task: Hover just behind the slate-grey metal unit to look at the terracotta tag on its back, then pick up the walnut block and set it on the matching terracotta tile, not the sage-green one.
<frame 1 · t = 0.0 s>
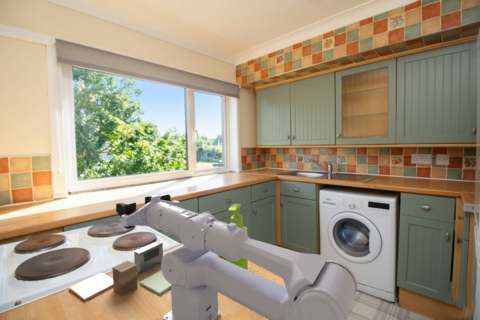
hand: (132, 203, 60), 22 cm above the countertop, tool horizontal, fingers open, 7 cm apart
sage tile: (162, 281, 64), on the countertop
soap dispenser: (236, 276, 66), on the countertop
walnut block: (125, 288, 61), on the countertop
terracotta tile: (94, 286, 62), on the countertop
supplement bottle: (222, 261, 74), on the countertop
grey unit: (149, 266, 71), on the countertop
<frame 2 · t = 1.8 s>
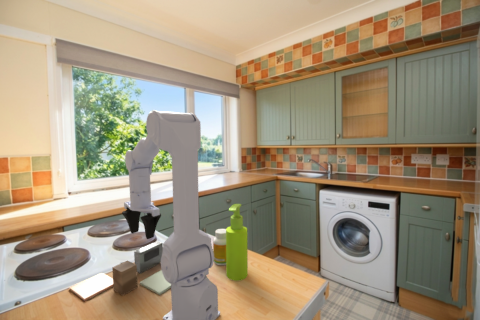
hand: (142, 235, 72), 9 cm above the countertop, tool pointing down, fingers open, 7 cm apart
nothing on the countertop moved.
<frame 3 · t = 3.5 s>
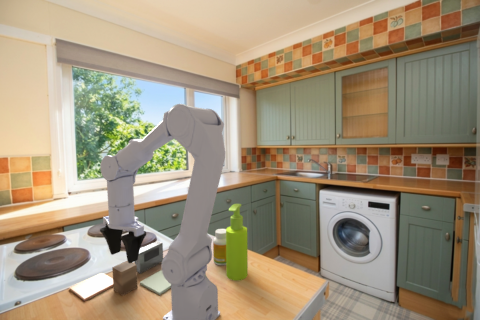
hand: (124, 257, 60), 8 cm above the countertop, tool pointing down, fingers open, 7 cm apart
nothing on the countertop moved.
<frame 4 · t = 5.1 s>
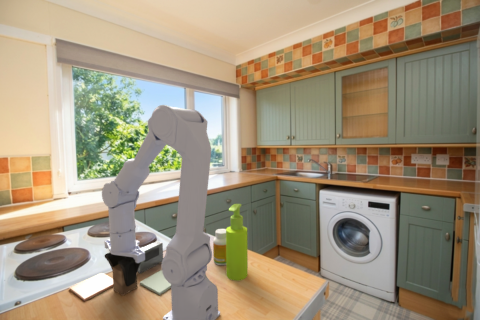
hand: (125, 281, 61), 2 cm above the countertop, tool pointing down, fingers closed on walnut block, 4 cm apart
walnut block: (125, 288, 61), on the countertop, touching gripper
everything else where it was.
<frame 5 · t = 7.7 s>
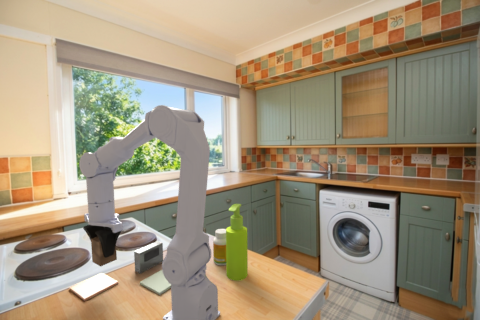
hand: (104, 253, 60), 9 cm above the countertop, tool pointing down, fingers closed on walnut block, 4 cm apart
walnut block: (104, 260, 61), point 7 cm above the countertop, touching gripper
everything else where it was.
when the fingers open (4 cm above the countertop, at t = 10.0 s): walnut block drops 1 cm, resting on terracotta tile.
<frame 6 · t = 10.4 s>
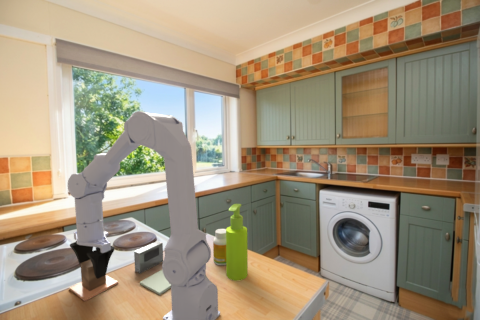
hand: (93, 271, 61), 4 cm above the countertop, tool pointing down, fingers open, 7 cm apart
walnut block: (94, 284, 61), point 1 cm above the countertop, touching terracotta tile
everything else where it was.
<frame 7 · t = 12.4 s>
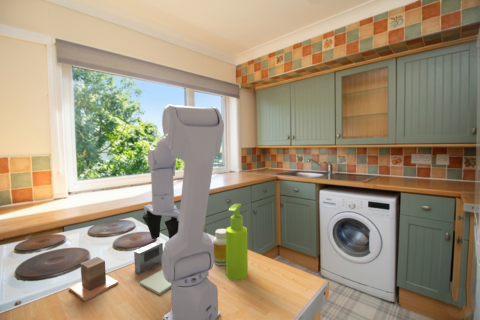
hand: (164, 241, 67), 9 cm above the countertop, tool pointing down, fingers open, 7 cm apart
nothing on the countertop moved.
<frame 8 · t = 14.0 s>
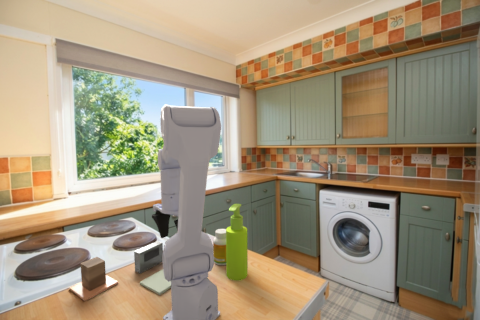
hand: (173, 239, 67), 9 cm above the countertop, tool pointing down, fingers open, 7 cm apart
nothing on the countertop moved.
at the end: walnut block 0.0 cm off-centre on the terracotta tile, point 0.6 cm above the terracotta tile's base; walnut block tilted 0°; the gripper is holding nothing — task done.
